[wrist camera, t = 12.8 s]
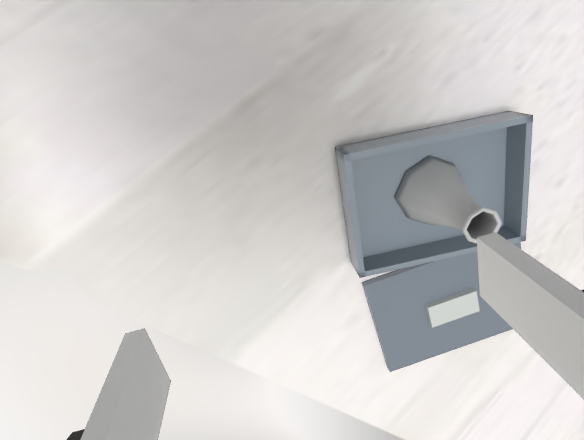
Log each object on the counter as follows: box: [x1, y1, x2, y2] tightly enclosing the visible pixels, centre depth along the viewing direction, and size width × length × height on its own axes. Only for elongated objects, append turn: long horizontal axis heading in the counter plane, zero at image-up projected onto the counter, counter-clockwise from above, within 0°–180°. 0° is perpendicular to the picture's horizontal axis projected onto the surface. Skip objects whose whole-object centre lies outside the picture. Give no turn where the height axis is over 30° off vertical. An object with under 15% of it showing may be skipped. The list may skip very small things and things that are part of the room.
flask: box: [395, 156, 502, 244], centre depth 37 cm, size 7×7×10 cm
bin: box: [335, 111, 533, 278], centre depth 40 cm, size 13×18×4 cm
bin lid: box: [362, 242, 521, 372], centre depth 47 cm, size 14×19×2 cm
